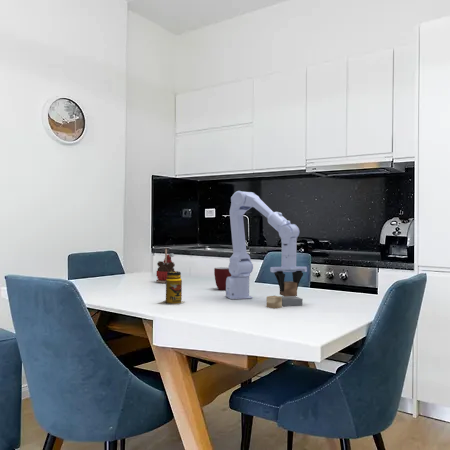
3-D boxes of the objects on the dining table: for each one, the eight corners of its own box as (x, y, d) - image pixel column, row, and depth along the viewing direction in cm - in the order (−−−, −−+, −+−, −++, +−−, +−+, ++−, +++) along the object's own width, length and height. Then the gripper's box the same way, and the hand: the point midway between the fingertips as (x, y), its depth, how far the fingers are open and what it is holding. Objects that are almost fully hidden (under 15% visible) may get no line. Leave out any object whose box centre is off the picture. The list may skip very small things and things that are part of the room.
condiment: (178, 305, 175) (178, 273, 175) (157, 303, 178) (157, 272, 178) (185, 302, 182) (185, 271, 182) (165, 300, 185) (166, 270, 185)
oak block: (273, 308, 170) (274, 297, 170) (266, 307, 173) (266, 296, 173) (281, 307, 172) (282, 297, 172) (274, 306, 176) (274, 295, 176)
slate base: (283, 306, 175) (283, 299, 175) (274, 302, 183) (274, 296, 183) (302, 305, 177) (302, 298, 177) (293, 302, 185) (293, 295, 185)
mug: (207, 288, 220) (208, 267, 220) (221, 287, 225) (221, 266, 225) (220, 291, 211) (220, 269, 211) (234, 290, 216) (235, 268, 216)
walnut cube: (284, 296, 177) (285, 283, 177) (279, 294, 182) (279, 281, 182) (296, 296, 178) (297, 282, 178) (291, 294, 183) (291, 281, 183)
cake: (151, 282, 240) (152, 247, 240) (164, 280, 248) (164, 246, 247) (167, 284, 234) (167, 248, 234) (179, 282, 241) (179, 247, 241)
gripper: (275, 256, 174) (275, 292, 174) (310, 256, 178) (310, 291, 178) (268, 255, 181) (267, 290, 181) (302, 254, 185) (302, 289, 185)
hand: (288, 290), depth 180 cm, fingers closed on walnut cube, 5 cm apart
